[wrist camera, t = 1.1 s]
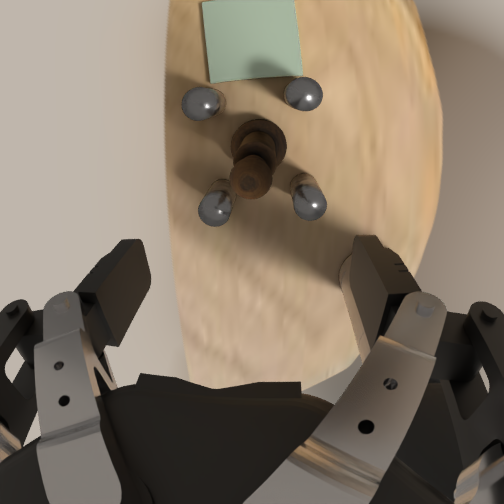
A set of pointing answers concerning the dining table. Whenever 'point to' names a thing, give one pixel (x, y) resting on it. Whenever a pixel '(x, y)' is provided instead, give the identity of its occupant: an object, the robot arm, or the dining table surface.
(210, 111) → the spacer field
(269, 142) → the wooden pepper mill
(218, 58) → the green mat
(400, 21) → the dining table surface
